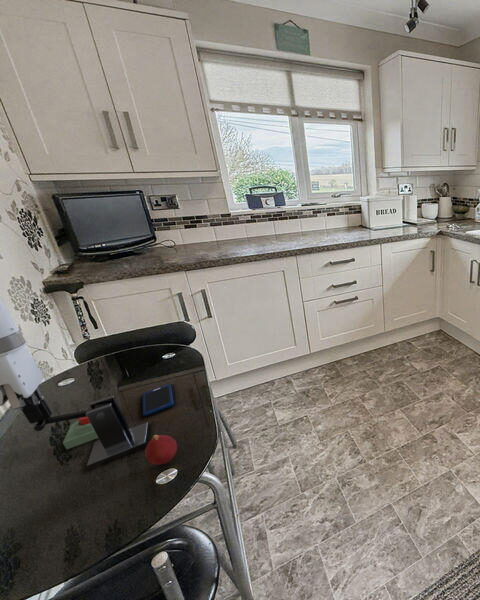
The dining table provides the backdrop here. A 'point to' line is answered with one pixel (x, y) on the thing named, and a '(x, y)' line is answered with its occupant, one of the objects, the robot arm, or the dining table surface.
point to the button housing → (79, 435)
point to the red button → (83, 420)
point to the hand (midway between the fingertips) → (41, 418)
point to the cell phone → (157, 400)
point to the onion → (160, 449)
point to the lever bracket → (113, 433)
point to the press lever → (63, 418)
